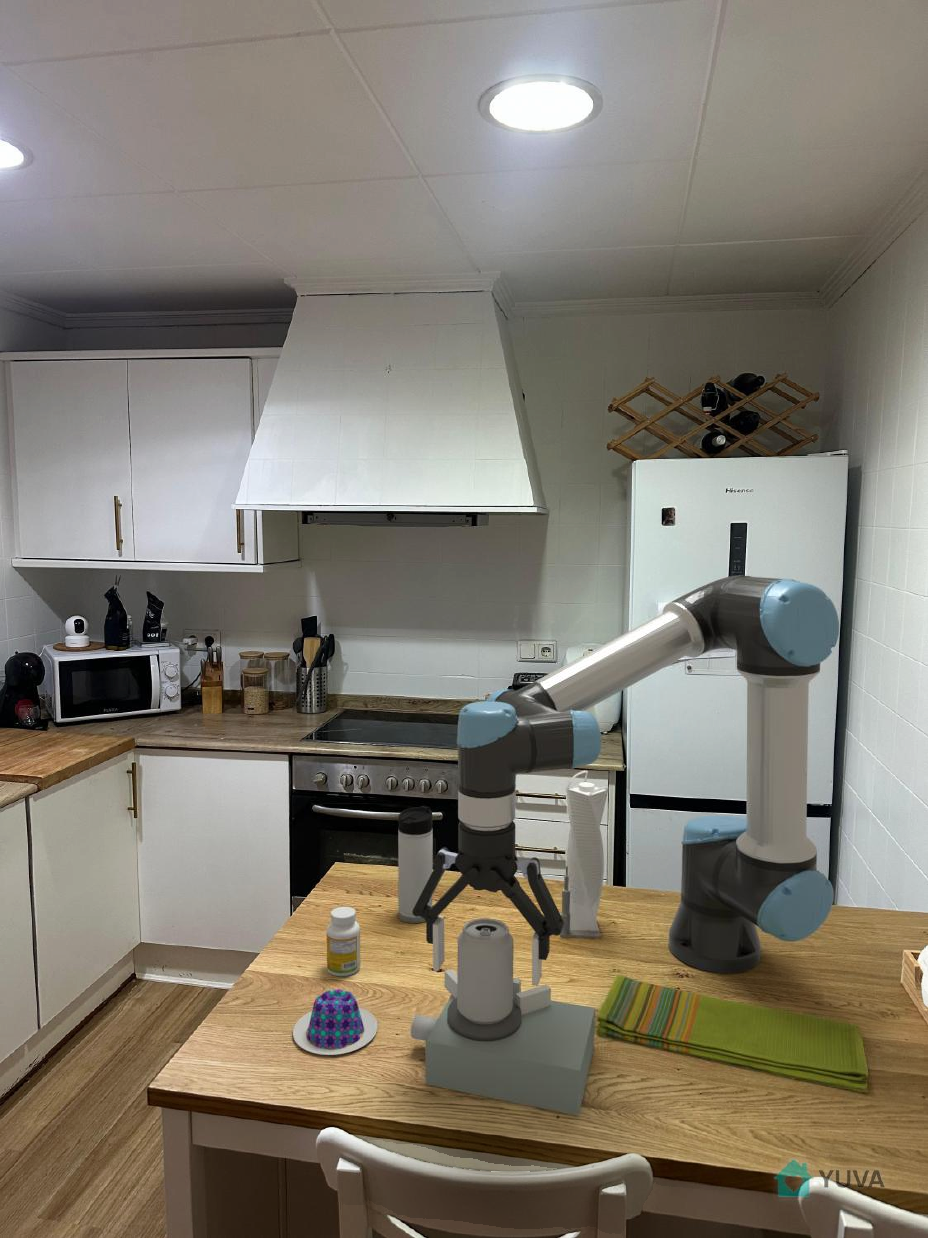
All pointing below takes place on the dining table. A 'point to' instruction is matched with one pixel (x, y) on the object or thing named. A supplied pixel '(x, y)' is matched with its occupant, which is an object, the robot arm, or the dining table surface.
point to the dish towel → (735, 1033)
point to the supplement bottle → (343, 942)
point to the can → (485, 971)
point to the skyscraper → (583, 860)
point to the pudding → (335, 1024)
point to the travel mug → (414, 859)
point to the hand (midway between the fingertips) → (487, 973)
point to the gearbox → (512, 1050)
